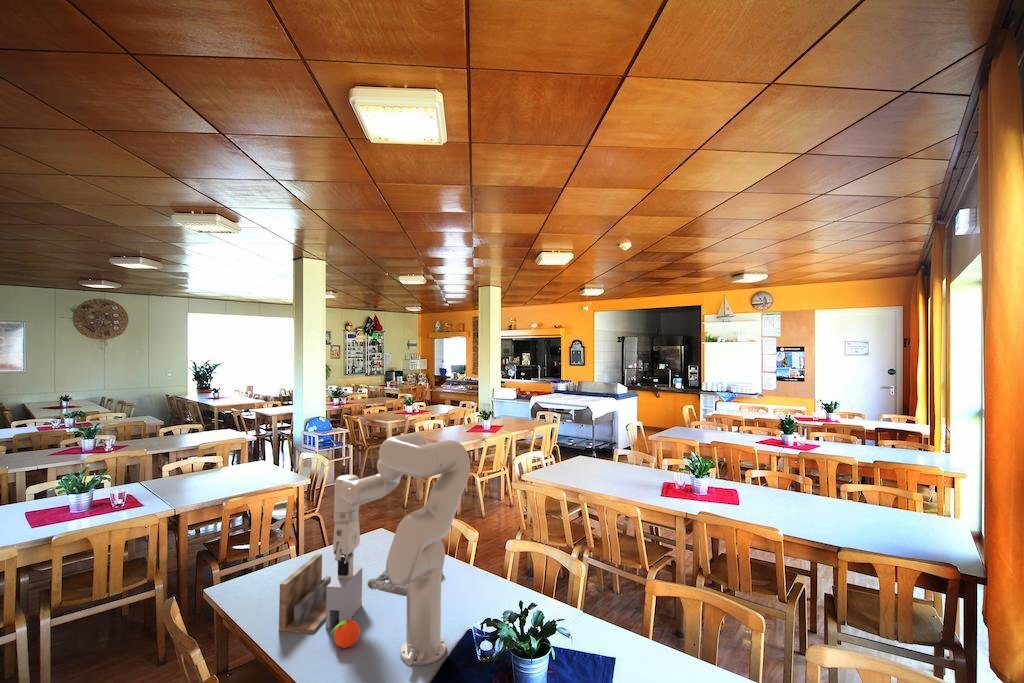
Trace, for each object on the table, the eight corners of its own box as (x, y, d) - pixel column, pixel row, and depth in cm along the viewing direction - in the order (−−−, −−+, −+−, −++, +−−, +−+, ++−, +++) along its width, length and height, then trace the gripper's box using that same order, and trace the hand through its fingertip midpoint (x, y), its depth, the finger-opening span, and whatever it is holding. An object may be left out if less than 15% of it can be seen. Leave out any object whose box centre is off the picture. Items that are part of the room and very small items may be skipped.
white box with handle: (342, 629, 142) (343, 567, 143) (325, 628, 143) (326, 566, 143) (361, 604, 156) (362, 548, 157) (346, 603, 157) (347, 548, 157)
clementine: (333, 657, 129) (334, 631, 129) (326, 645, 134) (327, 620, 135) (362, 647, 133) (363, 622, 134) (354, 635, 139) (355, 611, 139)
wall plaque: (446, 576, 178) (446, 566, 178) (420, 600, 160) (420, 589, 160) (393, 566, 186) (393, 556, 186) (362, 588, 168) (363, 577, 168)
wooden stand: (313, 633, 140) (314, 585, 140) (278, 631, 141) (279, 583, 141) (346, 596, 162) (347, 555, 162) (315, 594, 163) (316, 553, 163)
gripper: (346, 524, 142) (345, 585, 142) (367, 507, 158) (366, 562, 158) (322, 523, 143) (321, 584, 142) (346, 506, 159) (345, 561, 158)
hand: (345, 572), depth 150 cm, fingers closed on white box with handle, 2 cm apart
